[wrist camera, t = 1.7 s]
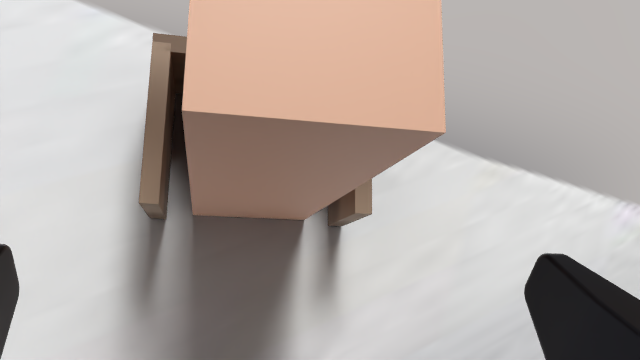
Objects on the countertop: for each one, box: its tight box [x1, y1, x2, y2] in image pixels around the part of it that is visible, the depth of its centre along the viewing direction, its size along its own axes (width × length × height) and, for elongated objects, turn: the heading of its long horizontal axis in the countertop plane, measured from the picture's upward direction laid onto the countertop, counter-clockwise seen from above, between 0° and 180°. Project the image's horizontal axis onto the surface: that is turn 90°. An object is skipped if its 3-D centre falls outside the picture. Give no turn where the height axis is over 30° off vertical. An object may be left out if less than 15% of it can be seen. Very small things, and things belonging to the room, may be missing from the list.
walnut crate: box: [139, 33, 372, 226], centre depth 20 cm, size 6×8×4 cm
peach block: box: [182, 0, 446, 220], centre depth 15 cm, size 4×4×13 cm
